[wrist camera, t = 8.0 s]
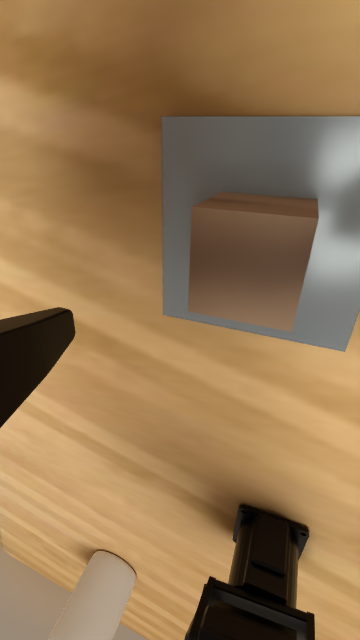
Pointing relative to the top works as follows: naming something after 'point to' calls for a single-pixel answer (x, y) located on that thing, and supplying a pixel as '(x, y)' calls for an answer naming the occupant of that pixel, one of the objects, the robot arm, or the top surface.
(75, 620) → the pill bottle
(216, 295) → the walnut block
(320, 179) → the plate
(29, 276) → the top surface
